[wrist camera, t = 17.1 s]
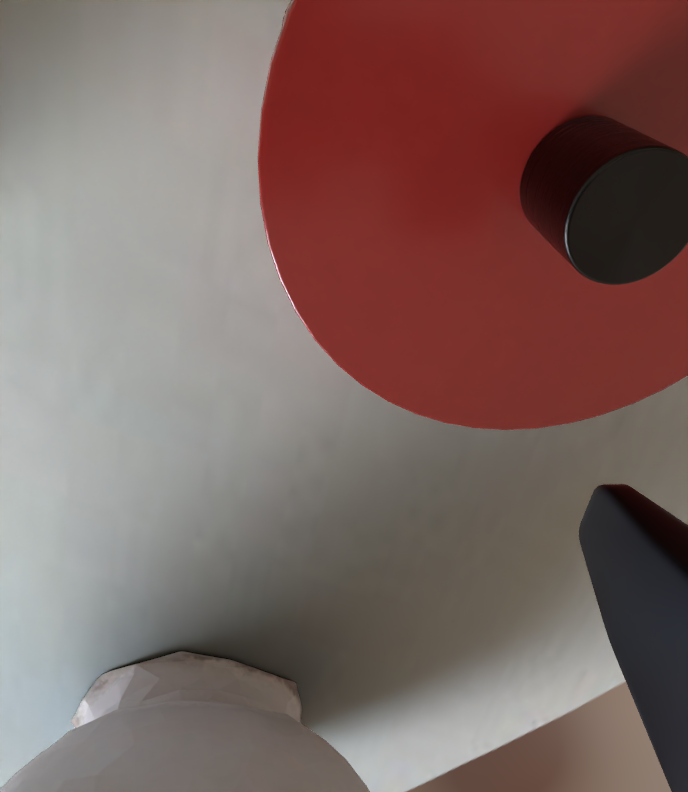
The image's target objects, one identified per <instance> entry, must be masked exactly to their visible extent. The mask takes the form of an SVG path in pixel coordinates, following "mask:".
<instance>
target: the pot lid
mask: <svg viewBox="0 0 688 792" xmlns="http://www.w3.org/2000/svg"><path fill="white" fill-rule="evenodd" d="M258 171H259V189H260V205H261V210H262V215H263V221H264V226H265V231H266V237H267V242H268V246H269V249H270V252H271V255H272V258H273V261H274V264H275V267H276V270H277V273H278V276H279V279H280V281H281V283H282V285H283V287H284V289H285V291H286V293H287V295H288V297H289V299H290V301H291V303H292V305H293V307H294V309H295V311H296V313H297V315H298V316H299V317H300V319H301V320H302V322H303V323H304V325H305V326H306V328H307V329H308V331H309V332H310V334H311V335H312V337H313V338H314V339H315V341H316V342H317V343H318V344H319V345H320V346H321V347H322V348H323V350H324V351H325V352H326V353H327V354H328V355H329V356H330V357H331V358H332V359H333V361H334V362H335V363H336V364H337V365H338V366H340V367H341V368H342V369H343V370H344V371H346V372H347V373H348V374H349V375H350V376H352V377H353V378H354V379H355V380H356V381H358V382H359V383H360V384H361V385H363V386H364V387H366V388H368V389H369V390H371V391H372V392H374V393H376V394H377V395H379V396H380V397H382V398H384V399H385V400H387V401H389V402H391V403H393V404H395V405H397V406H400V407H402V408H404V409H406V410H409V411H411V412H413V413H415V414H418V415H421V416H425V417H428V418H431V419H434V420H438V421H441V422H444V423H449V424H455V425H461V426H466V427H472V428H482V429H499V430H514V429H534V428H543V427H549V426H556V425H562V424H569V423H573V422H577V421H581V420H584V419H588V418H592V417H596V416H600V415H603V414H606V413H609V412H611V411H614V410H617V409H620V408H622V407H625V406H628V405H631V404H633V403H636V402H638V401H640V400H642V399H644V398H646V397H648V396H651V395H653V394H655V393H657V392H659V391H661V390H663V389H665V388H667V387H669V386H671V385H672V384H674V383H676V382H677V381H679V380H681V379H683V378H684V377H686V376H688V0H292V2H291V4H290V6H289V8H288V11H287V14H286V17H285V20H284V23H283V26H282V29H281V32H280V35H279V37H278V40H277V43H276V46H275V49H274V52H273V55H272V58H271V63H270V68H269V73H268V78H267V83H266V87H265V92H264V97H263V102H262V107H261V120H260V133H259V146H258Z"/></svg>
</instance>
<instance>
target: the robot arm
mask: <svg viewBox="0 0 688 792" xmlns="http://www.w3.org/2000/svg"><path fill="white" fill-rule="evenodd" d="M579 540H580V545H581V548H582V551H583V555H584V558H585V561H586V565H587V568H588V572H589V575H590V578H591V582H592V585H593V588H594V592H595V595H596V599H597V602H598V605H599V609H600V612H601V616H602V619H603V622H604V625H605V628H606V631H607V635H608V638H609V640H610V643H611V646H612V648H613V651H614V653H615V656H616V658H617V661H618V663H619V666H620V668H621V670H622V673H623V675H624V678H625V680H626V682H627V684H628V687H629V690H630V692H631V695H632V697H633V699H634V702H635V704H636V706H637V709H638V711H639V714H640V716H641V719H642V721H643V724H644V726H645V728H646V730H647V733H648V736H649V738H650V740H651V743H652V745H653V747H654V750H655V752H656V755H657V757H658V759H659V762H660V764H661V767H662V769H663V772H664V774H665V777H666V779H667V781H668V784H669V786H670V788H671V791H672V792H688V525H687V524H685V523H684V522H682V521H681V520H679V519H678V518H676V517H675V516H674V515H672V514H671V513H669V512H668V511H666V510H665V509H663V508H662V507H660V506H659V505H657V504H656V503H654V502H653V501H651V500H650V499H648V498H647V497H645V496H644V495H642V494H641V493H639V492H638V491H636V490H635V489H633V488H632V487H630V486H628V485H624V484H603V485H599V486H598V487H597V488H596V489H595V490H594V492H593V494H592V496H591V499H590V501H589V503H588V506H587V508H586V511H585V513H584V516H583V518H582V521H581V523H580V527H579Z"/></svg>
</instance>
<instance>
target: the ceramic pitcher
mask: <svg viewBox="0 0 688 792" xmlns="http://www.w3.org/2000/svg"><path fill="white" fill-rule="evenodd" d="M301 709H302V705H301V701H300V698H299V694H298V690H297V685H296V682H293V681H290V680H287V679H283V678H280V677H278V676H275V675H272V674H269V673H267V672H264V671H261V670H258V669H256V668H253V667H250V666H247V665H244V664H241V663H238V662H235V661H232V660H229V659H223V658H217V657H211V656H205V655H199V654H194V653H189V652H184V651H180V652H177V653H173V654H170V655H167V656H163V657H160V658H156V659H152V660H149V661H145V662H142V663H138V664H134V665H131V666H127V667H123V668H120V669H116V670H112V671H110V672H107V673H104V674H102V675H101V676H100V677H99V678H98V679H97V680H96V682H95V683H94V684H93V686H92V687H91V688H90V690H89V691H88V692H87V694H86V695H85V696H84V698H83V700H82V702H81V704H80V706H79V708H78V709H77V711H76V713H75V715H74V716H73V718H72V720H71V723H72V724H73V726H74V727H75V729H73V730H70V731H68V732H67V733H66V734H65V735H64V736H63V737H62V738H60V739H59V740H58V741H57V742H55V743H54V744H53V745H51V746H50V747H49V748H47V749H46V750H44V751H42V752H41V753H40V754H39V755H38V756H36V757H35V758H34V759H33V760H31V761H30V762H29V763H28V764H27V765H25V766H24V767H23V768H22V769H20V770H19V771H18V772H17V773H16V774H15V775H14V776H13V777H12V778H11V779H10V780H9V781H8V782H7V783H6V784H5V785H4V786H3V787H2V788H1V789H0V792H370V791H369V789H368V788H367V786H366V785H365V783H364V782H363V781H362V780H361V778H360V777H359V776H358V774H357V773H356V772H355V771H354V769H353V768H352V767H351V765H350V764H349V763H348V761H347V760H346V759H345V758H344V757H343V756H342V755H341V754H340V753H339V752H338V751H336V750H335V749H334V748H333V747H332V746H331V745H330V744H329V743H328V742H327V741H326V740H324V739H323V738H321V737H320V736H319V735H317V734H316V733H314V732H313V731H311V730H310V729H309V728H307V727H306V726H304V725H303V724H301V723H300V720H301Z"/></svg>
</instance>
